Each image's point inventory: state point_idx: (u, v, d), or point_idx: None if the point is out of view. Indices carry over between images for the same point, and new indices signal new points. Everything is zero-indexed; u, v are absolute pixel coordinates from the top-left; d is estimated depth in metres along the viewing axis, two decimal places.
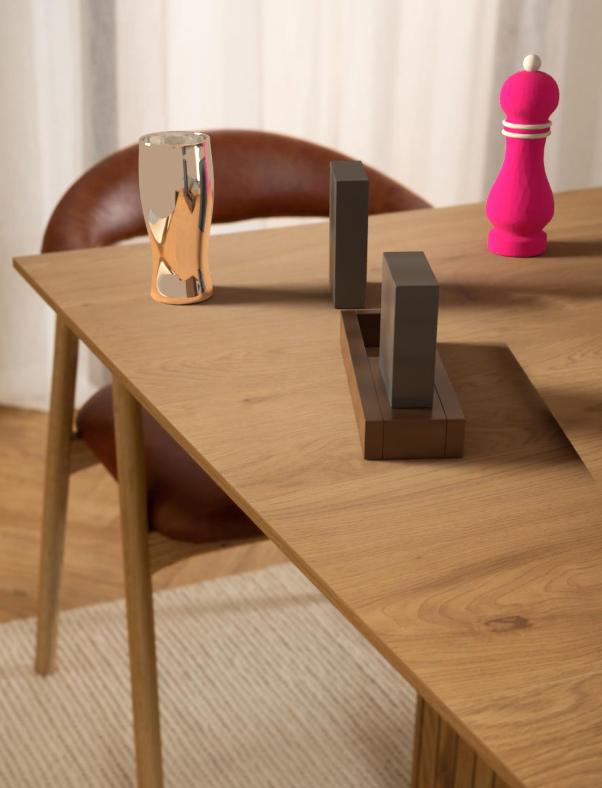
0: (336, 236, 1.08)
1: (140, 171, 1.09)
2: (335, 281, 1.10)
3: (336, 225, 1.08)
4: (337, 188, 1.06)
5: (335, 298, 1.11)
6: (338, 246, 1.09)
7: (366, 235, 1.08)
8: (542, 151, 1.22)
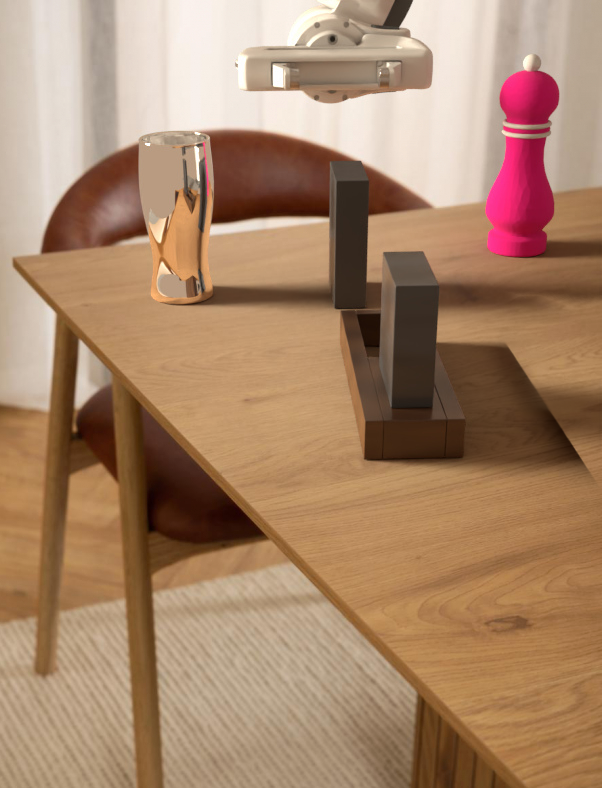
0: (336, 236, 1.08)
1: (140, 171, 1.09)
2: (335, 281, 1.10)
3: (336, 225, 1.08)
4: (337, 188, 1.06)
5: (335, 298, 1.11)
6: (338, 246, 1.09)
7: (366, 235, 1.08)
8: (542, 151, 1.22)
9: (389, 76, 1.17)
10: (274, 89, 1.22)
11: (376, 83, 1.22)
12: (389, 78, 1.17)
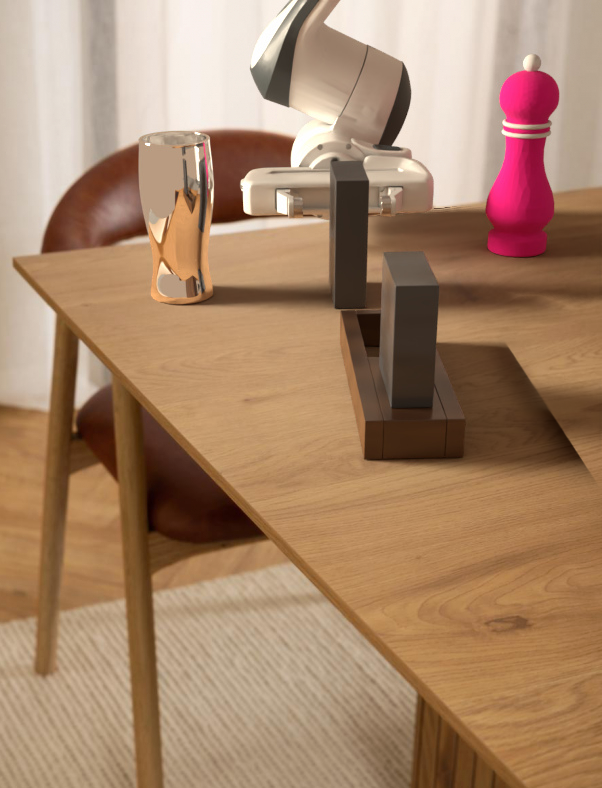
0: (336, 236, 1.08)
1: (140, 171, 1.09)
2: (335, 281, 1.10)
3: (336, 225, 1.08)
4: (337, 188, 1.06)
5: (335, 298, 1.11)
6: (338, 246, 1.09)
7: (366, 235, 1.08)
8: (542, 151, 1.22)
9: (391, 205, 1.20)
10: (278, 214, 1.25)
11: (378, 207, 1.25)
12: (391, 207, 1.20)
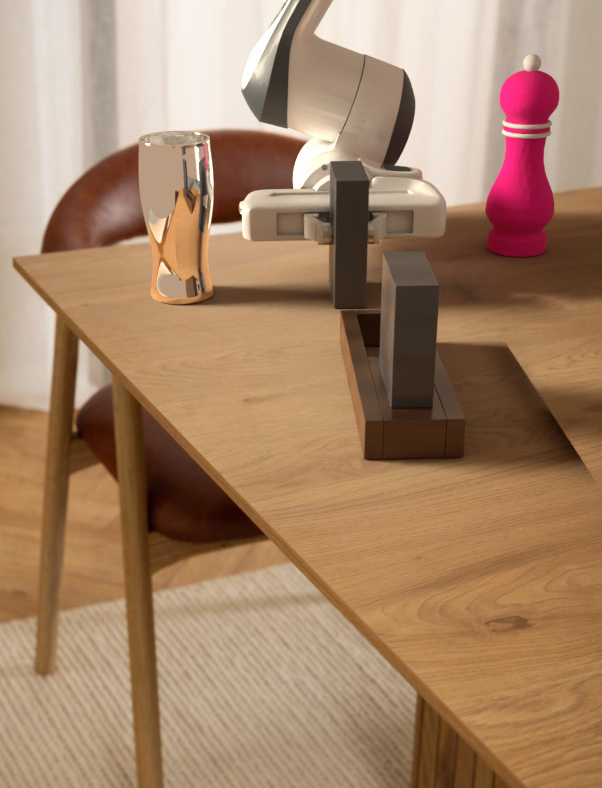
0: (336, 236, 1.08)
1: (140, 171, 1.09)
2: (335, 281, 1.10)
3: (336, 225, 1.08)
4: (337, 188, 1.06)
5: (335, 298, 1.11)
6: (338, 246, 1.09)
7: (366, 235, 1.08)
8: (542, 151, 1.22)
9: (374, 232, 1.11)
10: (280, 239, 1.16)
11: (387, 233, 1.17)
12: (374, 234, 1.11)
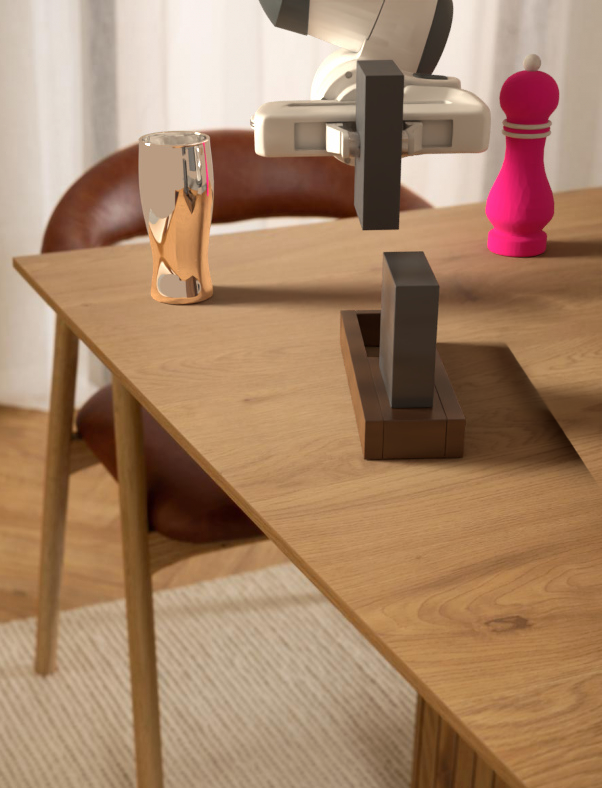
0: (365, 143, 0.93)
1: (140, 171, 1.09)
2: (363, 197, 0.95)
3: (365, 130, 0.92)
4: (366, 85, 0.91)
5: (363, 218, 0.95)
6: (367, 155, 0.93)
7: (400, 142, 0.93)
8: (542, 151, 1.22)
9: (408, 142, 0.96)
10: (298, 155, 1.01)
11: (422, 147, 1.01)
12: (408, 144, 0.96)
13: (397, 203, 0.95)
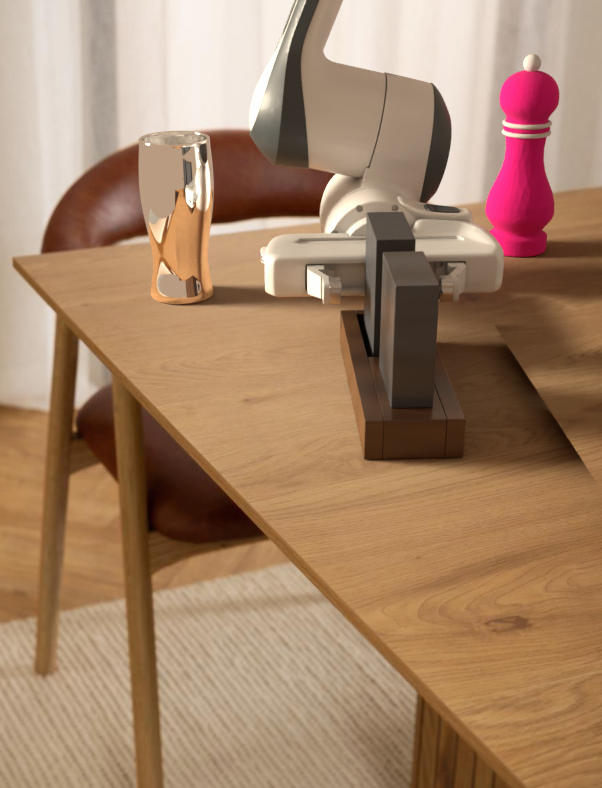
0: (375, 304, 0.92)
1: (140, 171, 1.09)
2: (373, 355, 0.94)
3: (376, 291, 0.91)
4: (377, 248, 0.90)
5: None
6: (377, 315, 0.92)
7: None
8: (542, 151, 1.22)
9: (453, 288, 0.95)
10: (308, 295, 0.99)
11: None
12: (453, 291, 0.95)
13: None
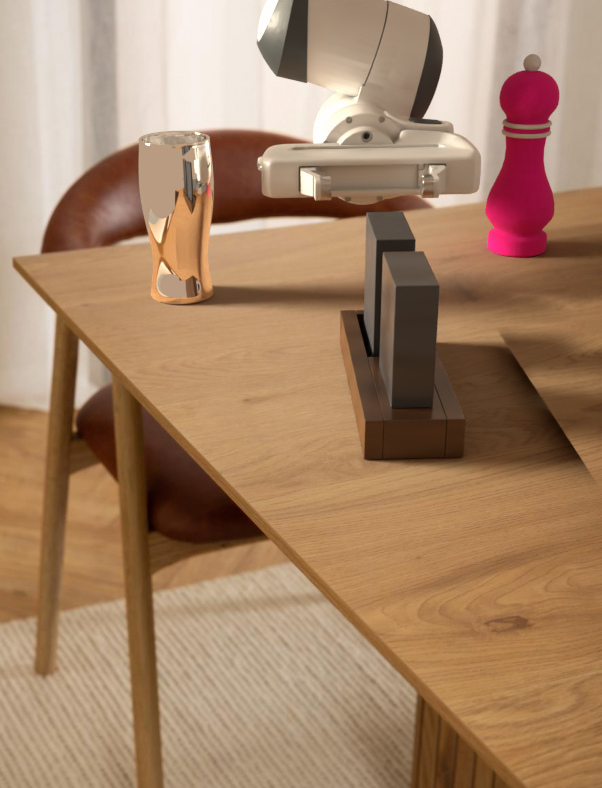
0: (375, 304, 0.92)
1: (140, 171, 1.09)
2: (373, 355, 0.94)
3: (375, 291, 0.91)
4: (377, 248, 0.90)
5: None
6: (377, 315, 0.92)
7: None
8: (542, 151, 1.22)
9: (433, 185, 1.03)
10: (302, 196, 1.08)
11: (417, 188, 1.08)
12: (433, 187, 1.03)
13: None
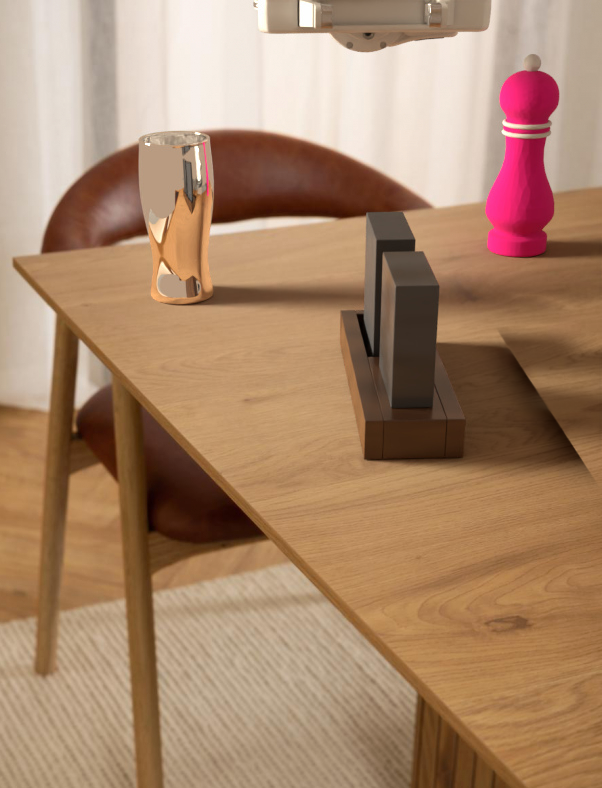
0: (375, 304, 0.92)
1: (140, 171, 1.09)
2: (373, 355, 0.94)
3: (375, 291, 0.91)
4: (377, 248, 0.90)
5: None
6: (377, 315, 0.92)
7: None
8: (542, 151, 1.22)
9: (441, 12, 0.97)
10: (301, 31, 1.02)
11: (423, 24, 1.02)
12: (441, 14, 0.97)
13: None
